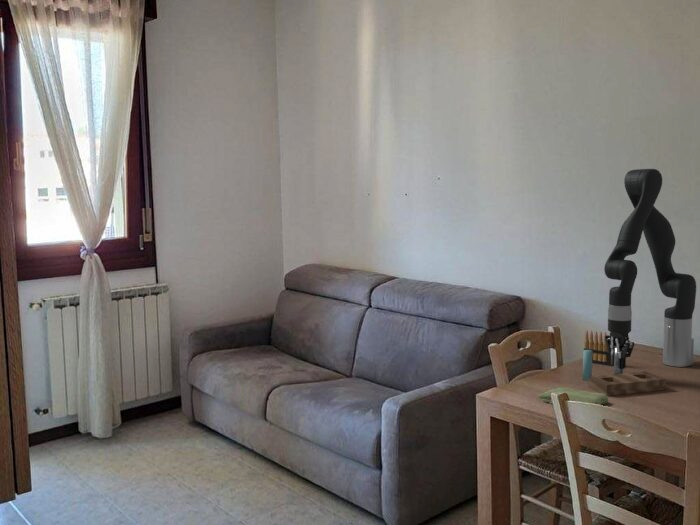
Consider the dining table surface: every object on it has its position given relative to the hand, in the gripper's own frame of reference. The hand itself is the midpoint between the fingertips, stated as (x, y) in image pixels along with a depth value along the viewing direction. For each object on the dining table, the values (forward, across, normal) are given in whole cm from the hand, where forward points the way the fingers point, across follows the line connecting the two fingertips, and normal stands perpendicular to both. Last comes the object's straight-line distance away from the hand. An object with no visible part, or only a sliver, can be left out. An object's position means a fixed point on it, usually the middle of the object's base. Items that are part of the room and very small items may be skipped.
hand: (618, 367), depth 247 cm
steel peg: (+3, 0, 0) cm, 3 cm away
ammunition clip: (+4, +18, -4) cm, 19 cm away
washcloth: (+4, -20, +30) cm, 36 cm away
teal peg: (+3, 0, +12) cm, 13 cm away
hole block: (+3, -13, +6) cm, 15 cm away
